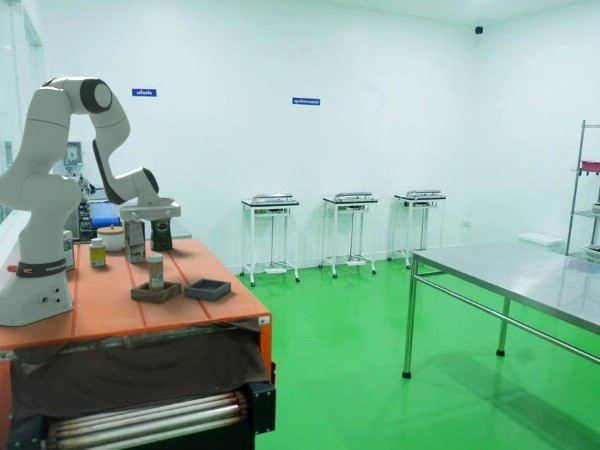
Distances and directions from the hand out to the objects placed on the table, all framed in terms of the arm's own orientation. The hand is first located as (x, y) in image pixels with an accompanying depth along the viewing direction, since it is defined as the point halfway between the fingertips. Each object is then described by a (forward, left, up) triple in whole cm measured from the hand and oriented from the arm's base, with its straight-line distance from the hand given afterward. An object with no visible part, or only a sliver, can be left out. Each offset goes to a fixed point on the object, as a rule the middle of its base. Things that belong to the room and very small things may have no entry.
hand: (151, 216), depth 151 cm
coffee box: (+22, +26, -24) cm, 42 cm away
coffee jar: (+42, +28, -24) cm, 56 cm away
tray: (-1, -22, -23) cm, 32 cm away
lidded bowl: (+32, +46, -24) cm, 61 cm away
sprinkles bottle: (-10, -8, -24) cm, 27 cm away
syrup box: (0, +41, -24) cm, 47 cm away
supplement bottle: (+10, +34, -24) cm, 43 cm away
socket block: (-10, -8, -23) cm, 27 cm away
